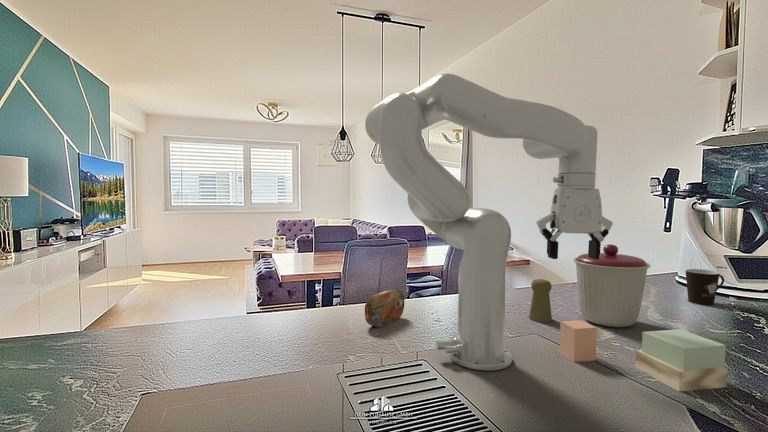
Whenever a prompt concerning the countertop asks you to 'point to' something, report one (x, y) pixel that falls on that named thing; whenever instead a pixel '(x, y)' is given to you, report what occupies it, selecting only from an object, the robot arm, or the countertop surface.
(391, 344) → the countertop surface
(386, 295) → the tin
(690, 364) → the top block
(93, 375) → the countertop surface
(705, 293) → the coffee mug
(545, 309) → the cork
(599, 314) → the canister
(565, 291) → the countertop surface
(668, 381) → the bottom block
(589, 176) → the robot arm
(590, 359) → the terracotta block
